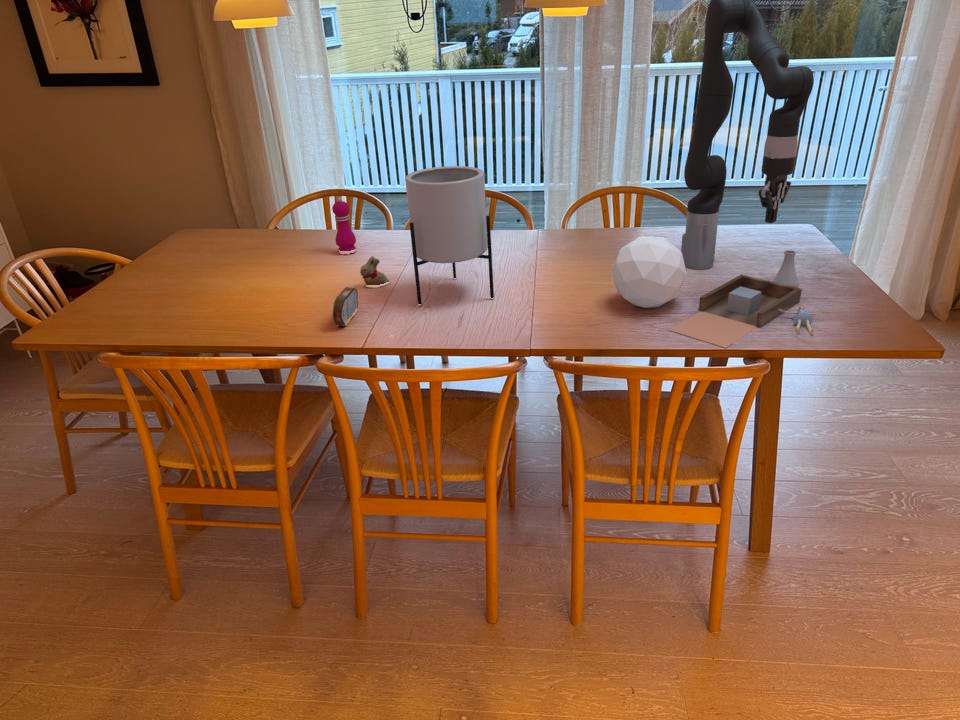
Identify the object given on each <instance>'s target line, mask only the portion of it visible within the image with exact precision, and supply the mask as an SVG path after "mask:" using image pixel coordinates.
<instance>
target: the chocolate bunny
mask: <svg viewBox="0 0 960 720" xmlns="http://www.w3.org/2000/svg"><path fill="white" fill-rule="evenodd" d="M379 263H380V259H378V258H376V257H375V256H373V255H372V256H370V257H369V259H368V260H367V261H366V262H365V263H364V264H363V265H361V267H360V270H359V272H360V275H361V276H362V279H363V282H364V283H365V285H380V284H384V283H386V282H389V281H390V280H389V279H388V277H387V276H386V274H385V273H383V272H381V271H378V269H377V267H378V265H379Z"/></svg>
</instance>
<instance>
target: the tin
mask: <svg viewBox="0 0 960 720" xmlns="http://www.w3.org/2000/svg"><path fill="white" fill-rule="evenodd" d="M357 308H358V309H359V295H358V290H357V288H355V287H349V286H345V287H344V288H343V289H342V291H340V293H338V295H337V296H336V298H335V300H334V303H333V307H332V319H333V322H334V326H336V325H345V323H346V321H347V320H348V319H349V318H350V317H351V316H352V314H353V313H354V312H355V310H356V309H357Z"/></svg>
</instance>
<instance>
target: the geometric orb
mask: <svg viewBox="0 0 960 720" xmlns="http://www.w3.org/2000/svg"><path fill="white" fill-rule="evenodd" d="M686 269H687V267H686V266H685V264H684V260H683V255H682V252H681V249H679V248H677V247H676V246H675V245H673V244H672V243H671V242H670V241H669V240H667V239H666V238H665V237H663V236H659V237H658V236H644V235H642V236H641V235H640V236H638V237H637V238H635V239H633V240H632V241H631V242H629V243H627V244H626V245H624V246H623V247H621V248H620V250H619V251H618V254H617V257H616V259H615V262H614V264H613V266H612V278H613V279H612V280H613V284H614V287H615V289H616V290H617V292H618V293H619V294H620V295H621V296H622V297H623V298H624V300H626V301H627V302H629V303H630V304H632V305H634V306H636V307H640V308H646V309H647V308H650V309H651V308H659V307H661V306H662V305H665V304H666V303H667V302H669V301H672V300H673V299H675V298H676V297H679V293H680V291H681V289H682V287H683V285H684V283H685V280H686V279H687V278H686V277H687V276H688V273H687V270H686Z"/></svg>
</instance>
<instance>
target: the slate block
mask: <svg viewBox="0 0 960 720" xmlns="http://www.w3.org/2000/svg"><path fill="white" fill-rule="evenodd" d="M761 293H762V292H761V291H757V290H753V289H749V288H745V287H739V288H737V289H735V290H733V291H732V292H730V293H729V297H728V305H727V311H731V312H734V313H738V314H742V315H745V316H749V315H751V314H752V313H754V312H756V311H757V310H759V308H760V300H761Z"/></svg>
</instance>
